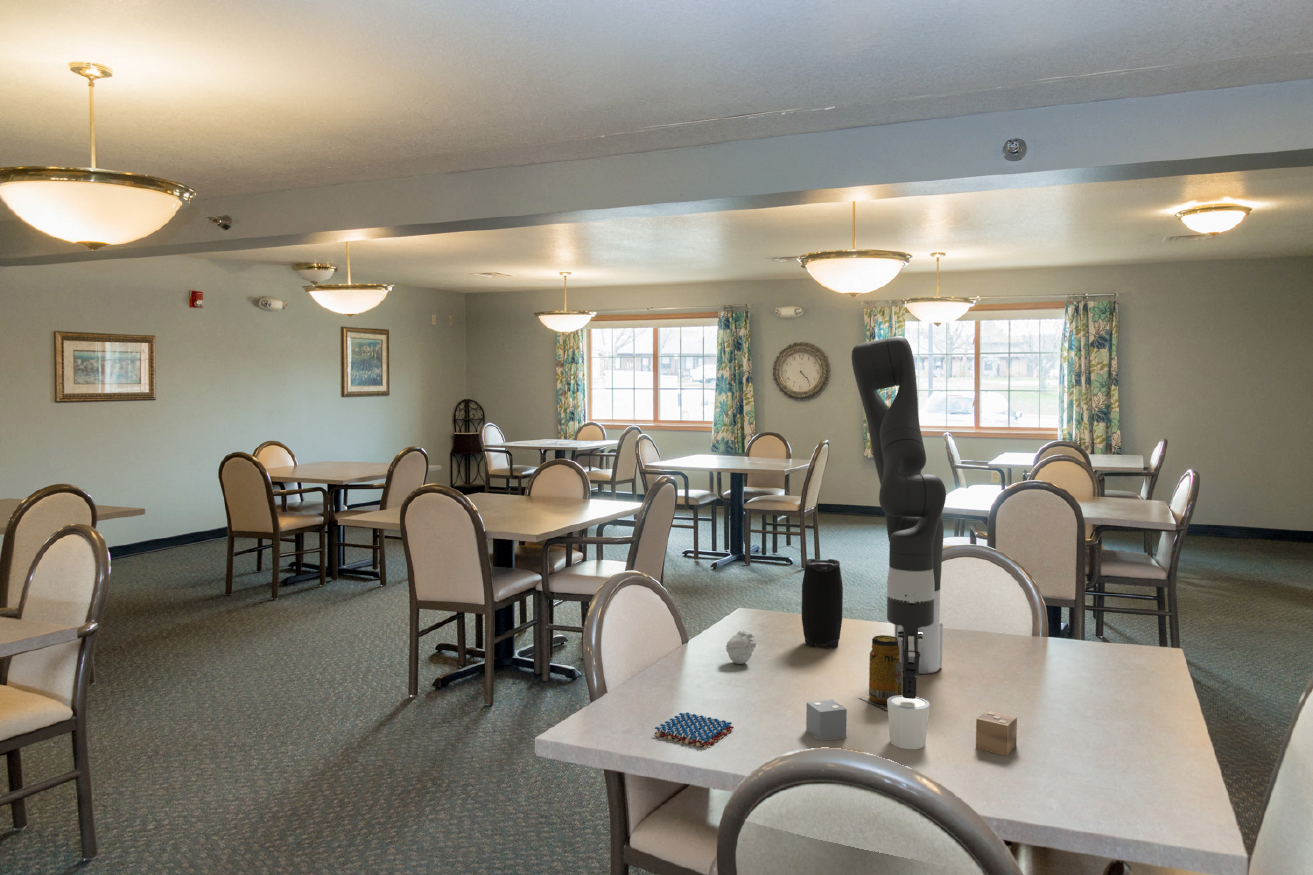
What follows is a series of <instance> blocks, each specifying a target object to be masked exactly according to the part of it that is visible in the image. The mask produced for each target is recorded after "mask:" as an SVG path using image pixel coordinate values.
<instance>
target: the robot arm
mask: <svg viewBox="0 0 1313 875" xmlns="http://www.w3.org/2000/svg"><path fill="white" fill-rule="evenodd" d="M915 365H916V364H915V360H914V354H913V350H912V348H911V345H910V342H909V340H908V339H907V338H906V337H904V336H901V335H895V336H891V337H885V338H880V339H875V340H871V341H867V342H862V343H859V344H857V345H855V346H854V347H853V348H852V350H851V366H852V370H853V375H854V378H855V382H856V385H857V388H858V392H859V396H860V400H861V402H862V407H863V410H864V413H865V418H866V422H867V428H868V432H869V437H870V445H871V449H872V455H873V459H874V464H875V468H876V471H877V476H878V479H879V483H880V484H879V485H880V488H879V494H878V501H879V506H880V508H881V510H882V511H883V512H884V516H885V522H886V530H887V539H888V542H889V543H888V544H889V545H888V546H889V551H888V552H889V554H888V555H889V556H888V560H889V561H888V563H889V564H888V566H889V567H888V575H887V581H886V582H887V586H886V587H887V589H886V590H887V591H886V597H887V598H886V620H887V622H889V623H890V624H892V625H894V633H893V634H894V636H893V637H897V639H898V646H899V661H900V663H901V666H902V668H901V674H902V695H903V697H904V698H908V699H915V698H916V697H917V679H918V678H917V677H919V675H920V674H922V675H923V674H924V675H925V674H933V673H936V672H938V671H939V670H940V669H941V668H943V638H944V637H943V636H944V635H943V634H944V633H943V632H944V631H943V630H944V628H943V627H944V625H943V623H942V622H941V583H942V582H941V580H942V562H943V561H942V560H943V549H944V548H943V547H944V534H945V531H944V528H945V527H944V521H943V519H942V514H943V511H944V508H945V504H946V500H947V498H946V497H947V491H946V486H945V483H944V482H943V480H942V479H941V478H940V477H939V476H938V475H935V474H929V473H928V474H925V473H924V474H921V473H922V470H923V469H924V467H925V466H926V463H927V456H926V450H925V445H924V441H923V435H922V433H921V431H922V430H921V425H920V418H919V417H920V416H919V399H918V398H919V397H918V385H917V374H916V366H915ZM893 387H898V389H897V392H896V395H895V397H894V399H893V401H892V402H891V404H890V406H888V405H887V403H886V402H885V401H884V400H883V399H882V397H881V395H880V393H879V392H878V390H882V389H888V388H893Z"/></svg>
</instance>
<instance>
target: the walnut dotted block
mask: <svg viewBox="0 0 1313 875" xmlns="http://www.w3.org/2000/svg"><path fill="white" fill-rule="evenodd" d="M975 719H976V724H975V749H978V750H981V751H986V752H989V753H990V752H991V753H993V752H994V754H997V753H998V755H1001V754H1002V756H1007V757H1008V756H1009V755H1010V753H1011V752H1013V751H1014V749H1015V748H1016V747H1017V743H1018V742H1017V739H1018V738H1017V734H1018V728H1017V727H1018V716H1014V715H1010V714H1006V713H999V712H995V711H990V710H985V711H984V712H982V713H981V715H979V716H978V717H977V718H975Z"/></svg>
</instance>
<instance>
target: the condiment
mask: <svg viewBox="0 0 1313 875" xmlns="http://www.w3.org/2000/svg"><path fill="white" fill-rule="evenodd" d="M901 668H902V666H901V663H900V661H899V646H898V639H897V637H894V636H892V635H884V634H883V635H875V636H873V637H872V639H871V650H870V652H869V669H868V671H869V672H868V673H869V674H868V675H869V677H868V695H860V696H858V698H859V699H861V700H863V701H865V702H867V703H870V704H872V705H875V706H876V707H879V708H881V709H884V710H886V711H888V705H887V700H888V698H890V697H893V696H899V695H902V674H901Z"/></svg>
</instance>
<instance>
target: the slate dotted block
mask: <svg viewBox="0 0 1313 875" xmlns="http://www.w3.org/2000/svg"><path fill="white" fill-rule="evenodd" d="M847 713H848V709H847V708H846V707H845V706H843V705H842V704H840V703H838V701H836V700H834V699H826V700H816V701H807V702H806V722H805V723H806V724H805V727H806V728H805V731H806V732H808V733H809V734H810V733H811V736H813V737H814V738H815V739H817V740H818V741H819V742H821V741H831V740H839V739H846V738H847V725H848V724H847V721H848V720H847V715H848V714H847Z"/></svg>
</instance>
